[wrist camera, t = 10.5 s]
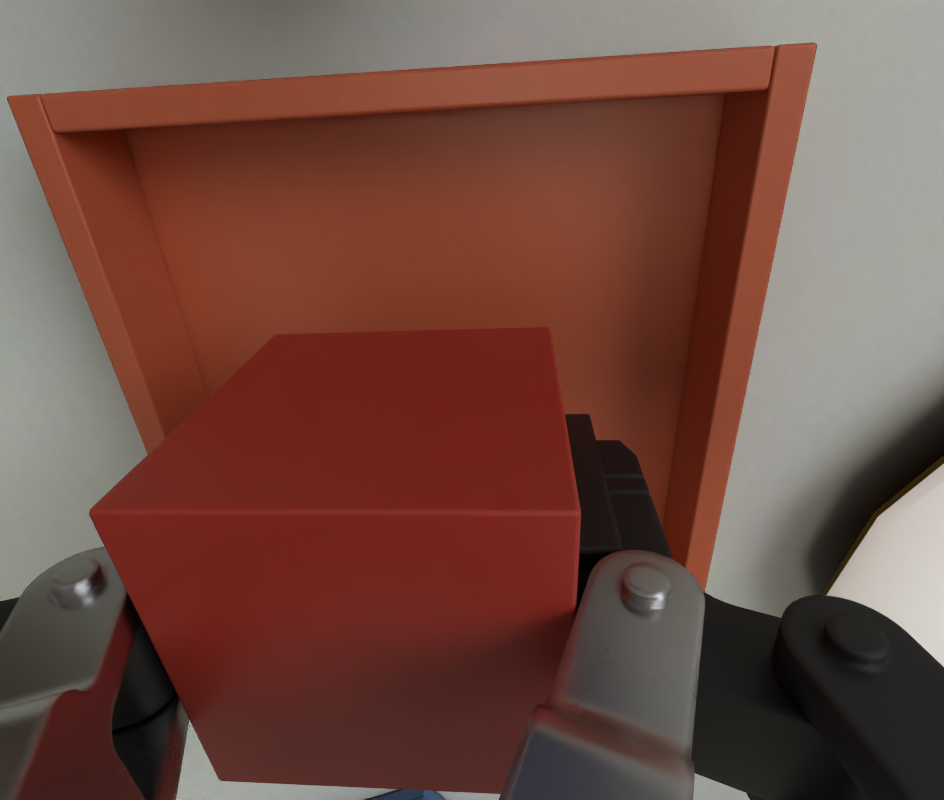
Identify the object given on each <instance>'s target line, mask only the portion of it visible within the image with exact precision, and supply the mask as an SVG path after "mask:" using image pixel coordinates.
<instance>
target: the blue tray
mask: <svg viewBox="0 0 944 800" xmlns="http://www.w3.org/2000/svg"><path fill="white" fill-rule="evenodd" d="M370 800H444V799H443V798H442V797H441V796H439V795H438V794H437V793H436V792H435V791H428V790H407V789H403V790H400V791H397V792H393V793H390V794H387V795H383V796H380V797H377V798H373V799H370Z"/></svg>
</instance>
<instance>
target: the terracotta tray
mask: <svg viewBox="0 0 944 800" xmlns="http://www.w3.org/2000/svg"><path fill="white" fill-rule="evenodd" d="M816 49H817V44H816V43H800V44H785V45H777V46H757V47H742V48H727V49H712V50H696V51H681V52H666V53H651V54H636V55H621V56H606V57H591V58H576V59H561V60H546V61H531V62H516V63H501V64H486V65H470V66H455V67H440V68H425V69H410V70H395V71H380V72H365V73H350V74H335V75H320V76H305V77H290V78H275V79H259V80H244V81H229V82H214V83H199V84H184V85H169V86H154V87H139V88H124V89H109V90H94V91H79V92H64V93H49V94H32V95H17V96H9V97H7V100H8V103H9V105H10V108H11V111H12V113H13V116H14V118H15V121H16V123H17V126H18V128H19V131H20V133H21V136H22V138H23V141H24V143H25V146H26V148H27V151H28V153H29V156H30V158H31V161H32V163H33V166H34V169H35V171H36V174H37V176H38V179H39V181H40V184H41V186H42V189H43V191H44V194H45V196H46V199H47V201H48V204H49V206H50V209H51V211H52V214H53V216H54V219H55V221H56V224H57V227H58V229H59V232H60V234H61V237H62V239H63V242H64V244H65V247H66V249H67V252H68V254H69V257H70V259H71V262H72V264H73V267H74V269H75V272H76V274H77V277H78V279H79V282H80V285H81V287H82V290H83V292H84V295H85V297H86V300H87V302H88V305H89V307H90V310H91V312H92V315H93V317H94V320H95V322H96V325H97V327H98V330H99V332H100V335H101V338H102V340H103V343H104V345H105V348H106V350H107V353H108V355H109V358H110V360H111V363H112V365H113V368H114V370H115V373H116V375H117V378H118V380H119V383H120V385H121V388H122V390H123V393H124V396H125V398H126V401H127V403H128V406H129V408H130V411H131V413H132V416H133V418H134V421H135V423H136V426H137V428H138V431H139V433H140V436H141V438H142V441H143V443H144V446H145V448H146V451H147V454H149V453H150V452H151V451H152V450H154V449H155V448H156V447H157V446H158V445H159V444H160V443H161V442H162V441H163V440H164V439H165V438H166V437H167V436H168V435H169V434H171V433H172V432H173V431H174V430H175V429H176V428H177V427H178V426H179V425H180V424H181V423H182V422H183V421H184V420H185V419H186V418H187V417H189V416H190V415H191V414H192V413H193V412H194V411H195V410H196V409H197V408H198V407H199V406H200V405H201V404H202V403H203V402H204V401H206V400H207V399H208V398H209V397H210V396H211V395H212V394H213V393H214V392H215V391H216V390H217V389H218V388H219V387H220V386H221V385H222V384H224V383H225V382H226V381H227V380H228V379H229V378H230V377H231V376H232V375H233V374H234V373H235V372H236V371H237V370H238V369H239V368H241V367H242V366H243V365H244V364H245V363H246V362H247V361H248V360H249V359H250V358H251V357H252V356H253V355H254V354H255V353H256V352H257V351H259V350H260V349H261V348H262V347H263V346H264V345H265V344H266V343H267V342H268V341H269V340H270V339H271V338H272V337H273V336H274V335H276V334H310V333H347V332H384V331H421V330H458V329H495V328H532V327H549V328H550V330H551V334H552V341H553V347H554V353H555V359H556V365H557V371H558V377H559V383H560V389H561V395H562V401H563V407H564V413H565V414H589V415H590V418H591V422H592V426H593V430H594V434H595V438H596V440H620V441H621V442H622V443H623V444H624V445H625V446H626V447H627V448H629V449H630V450H631V451H632V452H633V453H634V454H635V455H636V456H637V458H638V461H639V464H640V466H641V469H642V472H643V475H644V479H645V480H646V483H647V486H648V489H649V495H651V497H652V500H653V503H654V506H655V509H656V511H657V514H658V517H659V520H660V523H661V525H662V528H663V531H664V534H665V537H666V539H667V542H668V545H669V548H670V551H671V553H672V556H673V559H674V561H676V562H678V563H679V564H681V565H682V566H683V567H685V568H686V569H687V570H688V571H689V572H690V573H691V574H692V575H693V576H694V577H695V578H696V580H697V581H698V582H699V584H700V586H701V588H702V590H703V592H705V587H706V583H707V578H708V573H709V568H710V563H711V558H712V553H713V549H714V544H715V539H716V534H717V529H718V524H719V519H720V515H721V510H722V505H723V500H724V495H725V490H726V486H727V481H728V476H729V471H730V466H731V461H732V456H733V452H734V447H735V442H736V437H737V432H738V427H739V422H740V418H741V413H742V408H743V403H744V398H745V393H746V388H747V384H748V379H749V374H750V369H751V364H752V359H753V354H754V350H755V345H756V340H757V335H758V330H759V325H760V320H761V316H762V311H763V306H764V301H765V296H766V291H767V286H768V282H769V277H770V272H771V267H772V262H773V257H774V252H775V248H776V243H777V238H778V233H779V228H780V223H781V218H782V214H783V209H784V204H785V199H786V194H787V189H788V184H789V180H790V175H791V170H792V165H793V160H794V155H795V151H796V146H797V141H798V136H799V131H800V126H801V121H802V117H803V112H804V107H805V102H806V97H807V92H808V87H809V83H810V78H811V73H812V68H813V63H814V58H815V53H816Z"/></svg>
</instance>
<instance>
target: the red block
mask: <svg viewBox="0 0 944 800" xmlns="http://www.w3.org/2000/svg"><path fill="white" fill-rule="evenodd" d="M89 515H90V517H91V519H92V521H93V523H94V525H95V528H96V530H97V532H98V534H99V536H100V538H101V540H102V542H103V544H104V546H105V548H106V550H107V552H108V554H109V556H110V558H111V560H112V562H113V564H114V566H115V568H116V570H117V572H118V574H119V576H120V579H121V581H122V583H123V585H124V587H125V589H126V591H127V593H128V595H129V597H130V599H131V601H132V603H133V605H134V607H135V609H136V611H137V613H138V615H139V617H140V619H141V621H142V623H143V625H144V628H145V630H146V632H147V634H148V636H149V638H150V640H151V642H152V644H153V646H154V648H155V650H156V652H157V654H158V656H159V658H160V660H161V662H162V664H163V666H164V668H165V670H166V672H167V674H168V676H169V679H170V681H171V683H172V685H173V687H174V689H175V691H176V693H177V695H178V697H179V699H180V701H181V703H182V705H183V707H184V709H185V711H186V713H187V715H188V717H189V719H190V721H191V723H192V725H193V728H194V730H195V732H196V734H197V736H198V738H199V740H200V742H201V744H202V746H203V748H204V750H205V752H206V754H207V756H208V758H209V760H210V762H211V764H212V766H213V768H214V770H215V772H216V774H217V776H218V779H219V780H221V781H235V782H256V783H278V784H299V785H321V786H342V787H364V788H385V789H407V790H428V791H450V792H472V793H493V794H501V793H502V790H503V787H504V784H505V781H506V779H507V776H508V773H509V770H510V768H511V765H512V762H513V759H514V756H515V754H516V751H517V748H518V745H519V742H520V740H521V737H522V734H523V731H524V729H525V726H526V724H527V721H528V719H529V717H530V715H531V713H532V711H533V709H534V708H535V706H536V705H537V704H538V703H541V704H545V702H546V700H547V698H548V696H549V693H550V691H551V688H552V685H553V682H554V679H555V676H556V673H557V670H558V667H559V664H560V661H561V658H562V655H563V652H564V650H565V647H566V644H567V641H568V638H569V635H570V632H571V629H572V626H573V623H574V620H575V617H576V605H577V586H578V566H579V546H580V527H581V509H580V503H579V497H578V491H577V485H576V479H575V473H574V467H573V461H572V455H571V449H570V443H569V437H568V431H567V425H566V419H565V413H564V407H563V401H562V395H561V389H560V383H559V377H558V371H557V365H556V359H555V353H554V347H553V341H552V334H551V330H550V328H549V327H532V328H495V329H458V330H421V331H384V332H347V333H310V334H276V335H274V336H273V337H272V338H271V339H270V340H269V341H268V342H267V343H266V344H265V345H264V346H263V347H262V348H261V349H260V350H259V351H257V352H256V353H255V354H254V355H253V356H252V357H251V358H250V359H249V360H248V361H247V362H246V363H245V364H244V365H243V366H242V367H241V368H239V369H238V370H237V371H236V372H235V373H234V374H233V375H232V376H231V377H230V378H229V379H228V380H227V381H226V382H225V383H224V384H222V385H221V386H220V387H219V388H218V389H217V390H216V391H215V392H214V393H213V394H212V395H211V396H210V397H209V398H208V399H207V400H206V401H204V402H203V403H202V404H201V405H200V406H199V407H198V408H197V409H196V410H195V411H194V412H193V413H192V414H191V415H190V416H189V417H187V418H186V419H185V420H184V421H183V422H182V423H181V424H180V425H179V426H178V427H177V428H176V429H175V430H174V431H173V432H172V433H171V434H169V435H168V436H167V437H166V438H165V439H164V440H163V441H162V442H161V443H160V444H159V445H158V446H157V447H156V448H155V449H154V450H152V451H151V452H150V453H149V454H148V455H147V456H146V457H145V458H144V459H143V460H142V461H141V462H140V463H139V464H138V465H137V466H135V467H134V468H133V469H132V470H131V471H130V472H129V473H128V474H127V475H126V476H125V477H124V478H123V479H122V480H121V481H120V482H119V483H117V484H116V485H115V486H114V487H113V488H112V489H111V490H110V491H109V492H108V493H107V494H106V495H105V496H104V497H103V498H102V499H100V500H99V501H98V502H97V503H96V504H95V505H94V506H93V507H92V508H91V509H90V511H89Z"/></svg>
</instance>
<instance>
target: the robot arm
mask: <svg viewBox="0 0 944 800" xmlns="http://www.w3.org/2000/svg"><path fill="white" fill-rule="evenodd" d="M565 419H566V425H567V431H568V437H569V443H570V449H571V455H572V461H573V467H574V473H575V479H576V485H577V491H578V497H579V503H580V509H581V527H580V546H579V566H578V586H577V605H576V617H575V620H574V623H573V626H572V629H571V632H570V635H569V638H568V641H567V644H566V647H565V650H564V652H563V655H562V658H561V661H560V664H559V667H558V670H557V673H556V676H555V679H554V682H553V685H552V688H551V691H550V693H549V696H548V698H547V700H546V702H545V704H541V703H538V704H537V705H536V706H535V708H534V709H533V711H532V713H531V715H530V717H529V719H528V721H527V724H526V726H525V729H524V731H523V734H522V737H521V740H520V742H519V745H518V748H517V751H516V754H515V756H514V759H513V762H512V765H511V768H510V770H509V773H508V776H507V779H506V781H505V784H504V787H503V790H502V793H501V795H500V798H499V800H693V793H694V773H696V774H699V775H701V776H704V777H707V778H709V779H712V780H715V781H717V782H720V783H722V784H725V785H728V786H730V787H733V788H736V789H738V790H741V791H743V792H746V793H747V795H748V797H749V798H750V800H944V667H943V666H942V665H941V664H940V663H939V662H938V661H937V660H936V659H935V658H934V657H933V656H932V655H931V654H930V653H929V652H928V651H926V650H925V649H924V648H923V647H922V646H921V645H920V644H919V643H918V642H917V641H916V640H915V639H914V638H913V637H912V636H911V635H910V634H909V633H907V632H906V631H905V630H904V629H903V628H902V627H901V626H899V625H898V624H897V623H895V622H894V621H892V620H891V619H890V618H888V617H886V616H885V615H883V614H881V613H879V612H878V611H876V610H874V609H872V608H870V607H867V606H865V605H863V604H860V603H857V602H855V601H852V600H848V599H844V598H840V597H834V596H824V595H816V596H807V597H804V598H800V599H798V600H796V601H794V602H792V603H791V604H790V605H789V606H788V607H787V608H786V610H785V611H784V613H783V616H782V618H779V617H775V616H771V615H768V614H764V613H760V612H756V611H753V610H749V609H745V608H741V607H737V606H734V605H731V604H728V603H725V602H723V601H720V600H718V599H716V598H714V597H712V596H710V595H708V594H706V593H705V592H703V590H702V588H701V586H700V584H699V582H698V581H697V580H696V578H695V577H694V576H693V575H692V574H691V573H690V572H689V571H688V570H687V569H686V568H685V567H683V566H682V565H681V564H679V563H678V562H676V561H674V559H673V556H672V553H671V551H670V548H669V545H668V542H667V539H666V537H665V534H664V531H663V528H662V525H661V523H660V520H659V517H658V514H657V511H656V509H655V506H654V503H653V500H652V497H651V495H649V489H648V486H647V483H646V480H645V479H644V475H643V472H642V469H641V466H640V464H639V461H638V458H637V456H636V455H635V454H634V453H633V452H632V451H631V450H630V449H629V448H627V447H626V446H625V445H624V444H623V443H622V442H621V441H620V440H596V438H595V434H594V430H593V426H592V422H591V418H590V415H589V414H565ZM188 724H189V717H188V715H187V713H186V711H185V709H184V707H183V705H182V703H181V701H180V699H179V697H178V695H177V693H176V691H175V689H174V687H173V685H172V683H171V681H170V679H169V676H168V674H167V672H166V670H165V668H164V666H163V664H162V662H161V660H160V658H159V656H158V654H157V652H156V650H155V648H154V646H153V644H152V642H151V640H150V638H149V636H148V634H147V632H146V630H145V628H144V625H143V623H142V621H141V619H140V617H139V615H138V613H137V611H136V609H135V607H134V605H133V603H132V601H131V599H130V597H129V595H128V593H127V591H126V589H125V587H124V585H123V583H122V581H121V579H120V576H119V574H118V572H117V570H116V568H115V566H114V564H113V562H112V560H111V558H110V556H109V554H108V552H107V550H106V548H105V547H100V548H95V549H91V550H87V551H84V552H81V553H78V554H75V555H73V556H71V557H68V558H66V559H64V560H62V561H60V562H59V563H57V564H55V565H53V566H52V567H50V568H49V569H47V570H46V571H45V572H43V573H42V574H40V575H39V576H38V577H37V578H36V579H35V580H34V581H32V582H31V584H30V585H29V586H28V587H27V588H26V589H25V591H24V592H23V594H22V595H21V597H18V598H14V599H9V600H5V601H0V800H176V795H177V789H178V783H179V777H180V772H181V766H182V760H183V754H184V748H185V742H186V736H187V730H188Z"/></svg>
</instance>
